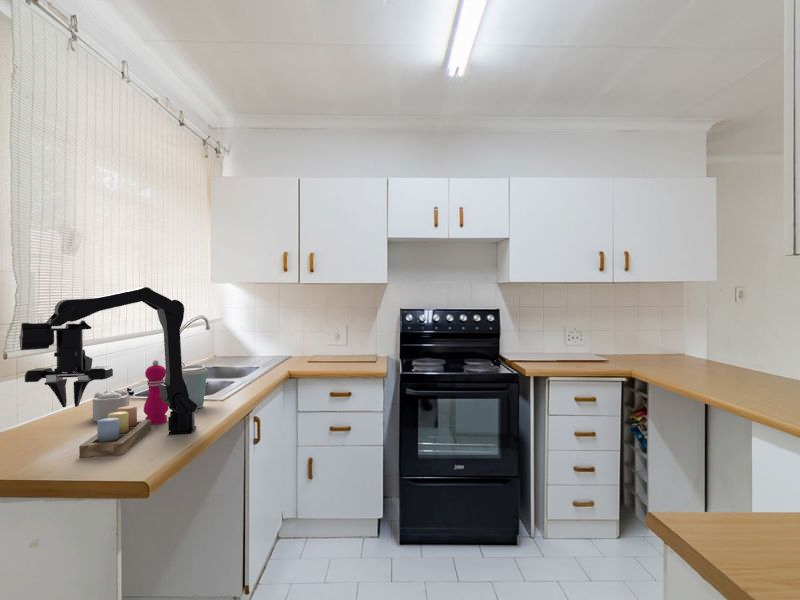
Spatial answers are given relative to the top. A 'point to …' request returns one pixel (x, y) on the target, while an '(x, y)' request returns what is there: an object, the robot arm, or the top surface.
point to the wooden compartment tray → (115, 441)
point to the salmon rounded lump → (130, 414)
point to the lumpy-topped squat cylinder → (108, 403)
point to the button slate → (108, 429)
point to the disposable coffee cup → (195, 382)
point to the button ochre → (121, 420)
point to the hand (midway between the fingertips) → (70, 406)
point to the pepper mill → (155, 394)
